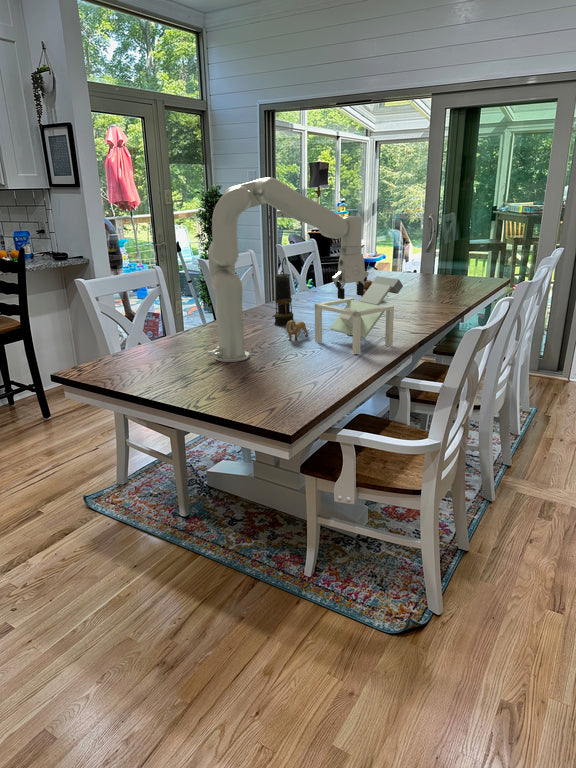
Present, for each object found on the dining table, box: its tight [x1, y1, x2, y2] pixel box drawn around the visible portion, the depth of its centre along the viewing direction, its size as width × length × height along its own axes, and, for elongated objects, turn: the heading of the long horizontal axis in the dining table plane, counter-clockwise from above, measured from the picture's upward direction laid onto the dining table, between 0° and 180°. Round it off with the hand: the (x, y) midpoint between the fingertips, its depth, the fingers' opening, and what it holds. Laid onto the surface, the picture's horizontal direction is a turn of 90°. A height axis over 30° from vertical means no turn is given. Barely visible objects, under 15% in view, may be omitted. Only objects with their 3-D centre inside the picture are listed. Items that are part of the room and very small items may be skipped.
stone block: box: [340, 308, 362, 327], centre depth 208 cm, size 5×5×5 cm
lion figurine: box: [285, 320, 309, 342], centre depth 221 cm, size 15×5×9 cm, turn 154°
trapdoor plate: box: [329, 275, 404, 339], centre depth 212 cm, size 29×19×4 cm
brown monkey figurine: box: [355, 279, 390, 298], centre depth 292 cm, size 13×16×15 cm
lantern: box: [271, 257, 295, 327], centre depth 243 cm, size 9×9×30 cm
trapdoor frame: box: [314, 297, 395, 355], centre depth 209 cm, size 19×24×16 cm
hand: (350, 296), depth 205 cm, fingers open, 9 cm apart
